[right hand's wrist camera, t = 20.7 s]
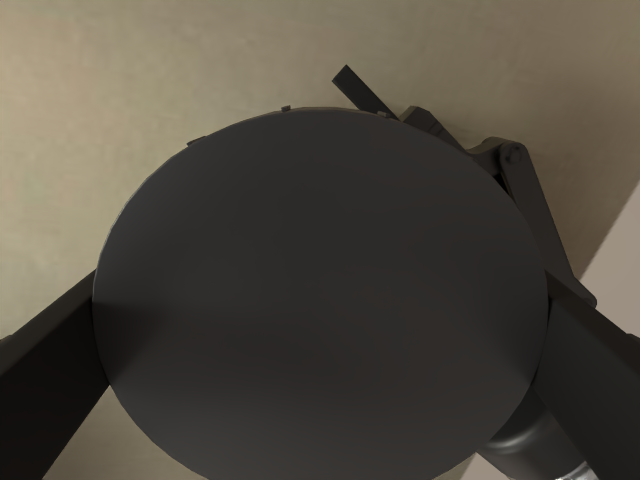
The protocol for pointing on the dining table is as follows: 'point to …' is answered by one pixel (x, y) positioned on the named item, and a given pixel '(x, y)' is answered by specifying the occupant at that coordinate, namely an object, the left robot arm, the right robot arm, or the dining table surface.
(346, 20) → the dining table surface
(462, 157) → the lid
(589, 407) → the right robot arm
